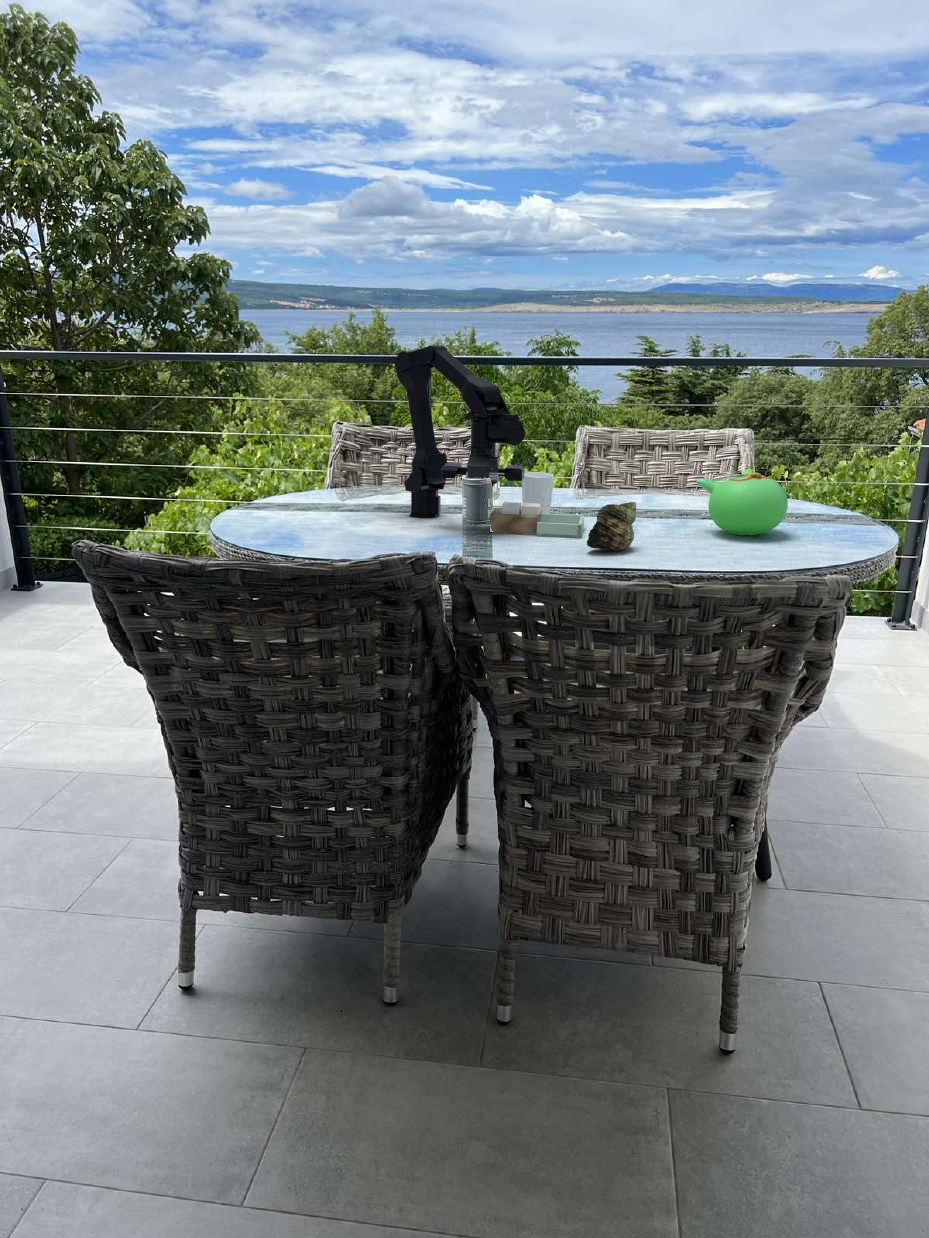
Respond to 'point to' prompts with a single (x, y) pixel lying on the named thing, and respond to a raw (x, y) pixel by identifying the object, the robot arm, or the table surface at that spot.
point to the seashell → (613, 527)
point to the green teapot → (746, 503)
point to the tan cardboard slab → (513, 523)
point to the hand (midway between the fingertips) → (482, 509)
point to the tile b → (531, 509)
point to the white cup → (538, 489)
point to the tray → (560, 525)
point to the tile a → (511, 508)
